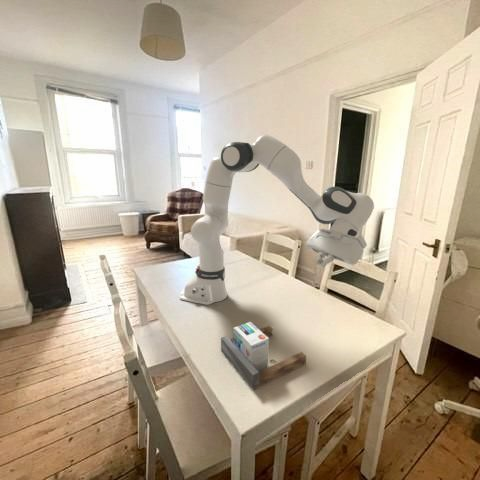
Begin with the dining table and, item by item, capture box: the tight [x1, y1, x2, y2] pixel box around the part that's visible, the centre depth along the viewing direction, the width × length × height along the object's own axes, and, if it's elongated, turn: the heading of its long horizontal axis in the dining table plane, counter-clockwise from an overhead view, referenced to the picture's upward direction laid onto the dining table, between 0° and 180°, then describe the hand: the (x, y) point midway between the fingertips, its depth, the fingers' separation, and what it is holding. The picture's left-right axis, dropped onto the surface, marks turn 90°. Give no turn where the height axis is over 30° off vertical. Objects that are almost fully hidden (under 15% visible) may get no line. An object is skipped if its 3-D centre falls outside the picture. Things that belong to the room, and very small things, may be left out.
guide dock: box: [220, 325, 307, 391], centre depth 86 cm, size 20×19×5 cm
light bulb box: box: [232, 321, 270, 372], centre depth 83 cm, size 11×7×11 cm, turn 31°
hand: (319, 265), depth 91 cm, fingers closed
